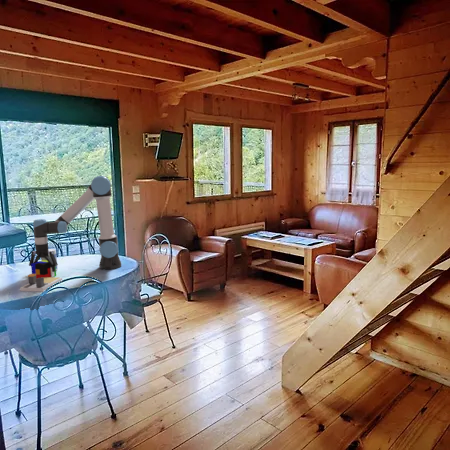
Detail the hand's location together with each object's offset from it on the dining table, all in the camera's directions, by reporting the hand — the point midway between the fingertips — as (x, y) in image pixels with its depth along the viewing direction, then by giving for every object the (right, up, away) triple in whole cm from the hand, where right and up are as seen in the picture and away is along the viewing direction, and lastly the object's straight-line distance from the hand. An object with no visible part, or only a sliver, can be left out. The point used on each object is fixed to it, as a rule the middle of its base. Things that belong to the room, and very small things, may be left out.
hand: (44, 276), depth 250 cm
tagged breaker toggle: (+3, -1, -21) cm, 21 cm away
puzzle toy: (0, -1, 0) cm, 1 cm away
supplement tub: (-3, +1, +15) cm, 16 cm away
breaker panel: (+7, -3, -18) cm, 20 cm away
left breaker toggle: (+10, -2, -27) cm, 29 cm away
